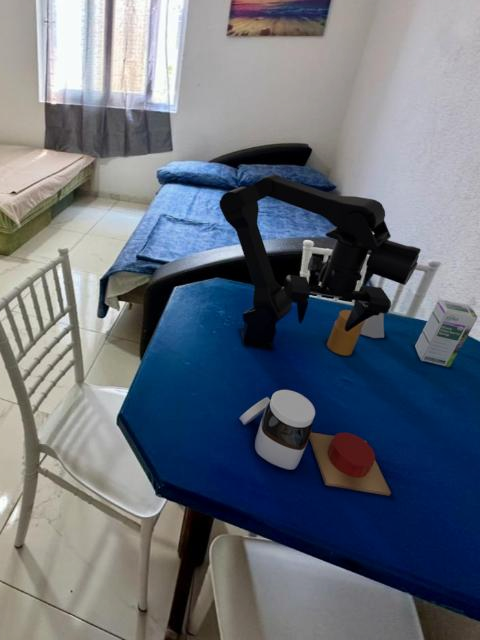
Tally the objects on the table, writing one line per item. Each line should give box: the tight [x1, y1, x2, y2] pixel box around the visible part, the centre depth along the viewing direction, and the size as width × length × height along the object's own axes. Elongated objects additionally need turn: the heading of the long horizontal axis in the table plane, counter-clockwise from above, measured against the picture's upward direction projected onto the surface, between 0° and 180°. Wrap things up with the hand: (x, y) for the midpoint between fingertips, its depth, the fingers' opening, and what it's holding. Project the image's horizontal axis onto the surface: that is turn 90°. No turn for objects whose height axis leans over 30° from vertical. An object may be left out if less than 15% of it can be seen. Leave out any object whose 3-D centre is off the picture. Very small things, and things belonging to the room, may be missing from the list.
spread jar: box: [238, 389, 316, 471], centre depth 72 cm, size 12×11×12 cm
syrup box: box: [414, 298, 478, 368], centre depth 94 cm, size 6×6×14 cm
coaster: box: [309, 432, 392, 497], centre depth 72 cm, size 10×10×1 cm
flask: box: [360, 313, 385, 339], centre depth 103 cm, size 7×7×10 cm
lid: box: [327, 432, 376, 478], centre depth 71 cm, size 6×6×3 cm
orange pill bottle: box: [326, 309, 365, 356], centre depth 97 cm, size 6×6×10 cm
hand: (322, 326), depth 87 cm, fingers open, 9 cm apart
